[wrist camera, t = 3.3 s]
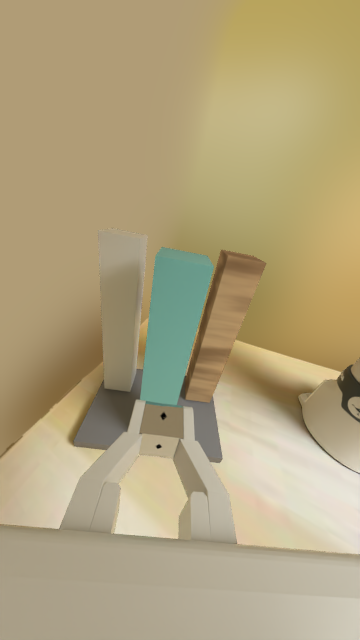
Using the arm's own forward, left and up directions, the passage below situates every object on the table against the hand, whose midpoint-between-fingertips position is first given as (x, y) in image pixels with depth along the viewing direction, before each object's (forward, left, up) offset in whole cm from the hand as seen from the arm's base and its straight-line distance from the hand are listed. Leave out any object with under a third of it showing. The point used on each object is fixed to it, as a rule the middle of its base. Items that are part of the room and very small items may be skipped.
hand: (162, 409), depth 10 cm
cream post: (-1, -22, -22) cm, 31 cm away
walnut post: (-16, -15, -22) cm, 31 cm away
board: (-7, -15, -24) cm, 29 cm away
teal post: (-5, -11, -22) cm, 25 cm away
